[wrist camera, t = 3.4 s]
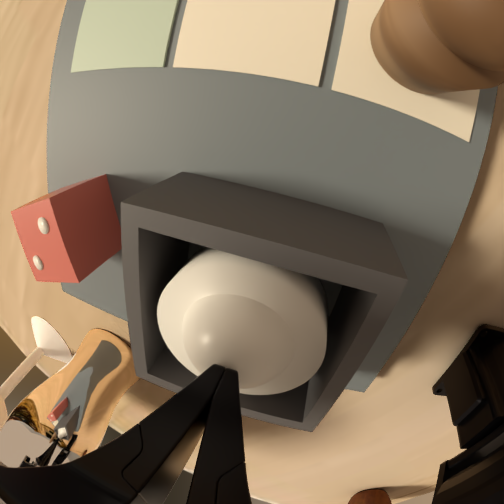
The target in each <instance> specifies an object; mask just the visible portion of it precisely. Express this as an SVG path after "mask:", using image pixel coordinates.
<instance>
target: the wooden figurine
mask: <svg viewBox="0 0 504 504" xmlns="http://www.w3.org/2000/svg"><path fill="white" fill-rule="evenodd" d="M348 504H391V500H390V498H389V496H388V494H387V492H385V491H383V490H380V489H371V490H365V491H361V492H359V493H357V494H355V495H354V496H353V497H352V498H351V499H350V501H349V503H348Z"/></svg>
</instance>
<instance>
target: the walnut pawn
mask: <svg viewBox="0 0 504 504" xmlns="http://www.w3.org/2000/svg"><path fill="white" fill-rule="evenodd" d="M370 41H371V46H372V49H373V52H374V55H375V57H376V59H377V61H378V62H379V64H380V65H381V67H382V68H383V69H384V71H385V72H386V73H387V74H388V75H389V76H390V77H391V78H392V79H393V80H394V81H396V82H397V83H398V84H400V85H402V86H403V87H405V88H407V89H409V90H411V91H414V92H417V93H421V94H429V95H431V94H441V93H448V92H457V91H466V90H477V89H487V88H493V87H496V86H498V85H500V84H501V83H503V82H504V0H384V2H383V4H382V6H381V7H380V9H379V11H378V13H377V15H376V17H375V18H374V21H373V23H372V26H371V31H370Z"/></svg>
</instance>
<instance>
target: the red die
mask: <svg viewBox="0 0 504 504" xmlns="http://www.w3.org/2000/svg"><path fill="white" fill-rule="evenodd" d="M11 214H12V217H13V220H14V223H15V226H16V229H17V232H18V235H19V238H20V241H21V244H22V246H23V249H24V252H25V254H26V257H27V259H28V262H29V264H30V267H31V269H32V272H33V274H34V276H35V279H36V281H42V282H64V283H80V282H81V281H82V280H83V279H85V278H86V277H87V276H88V275H89V274H91V273H92V272H93V271H94V270H96V269H97V268H98V267H99V266H101V265H102V264H103V263H104V262H106V261H107V260H108V259H109V258H111V257H112V256H113V255H114V254H116V253H117V252H118V251H120V250H121V249H122V245H121V227H120V223H119V220H118V217H117V213H116V210H115V206H114V203H113V199H112V195H111V191H110V188H109V184H108V180H107V176H106V174H104V175H101V176H97V177H94V178H91V179H87V180H84V181H81V182H78V183H75V184H72V185H69V186H66V187H63V188H60V189H58V190H55V191H53V192H51V193H49V194H47V195H44V196H42V197H40V198H38V199H36V200H34V201H31V202H29V203H27V204H25V205H23V206H21V207H19V208H17V209H15V210H13V211H11Z"/></svg>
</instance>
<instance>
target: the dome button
mask: <svg viewBox="0 0 504 504" xmlns="http://www.w3.org/2000/svg"><path fill="white" fill-rule="evenodd" d="M157 320H158V325H159V329H160V332H161V335H162V337H163V339H164V341H165V343H166V345H167V347H168V348H169V349H170V351H171V352H172V354H173V355H174V356H175V357H176V358H177V359H178V361H179V362H181V363H182V364H183V365H184V366H185V367H186V368H187V369H188V370H190V371H191V372H192V373H194V374H195V375H197V376H199V375H200V374H202V373H203V372H204V371H205V370H206V369H208V368H209V367H210V366H211V365H213V364H218V365H221V366H224V367H225V368H230V369H233V370H236V371H238V376H239V390H240V393H242V394H250V395H270V394H277V393H282V392H286V391H289V390H292V389H294V388H296V387H298V386H300V385H302V384H304V383H305V382H306V381H308V380H309V379H310V378H311V377H312V376H313V375H314V374H315V373H316V372H317V371H318V369H319V368H320V366H321V364H322V362H323V360H324V357H325V353H326V343H327V323H328V304H327V298H326V295H325V292H324V289H323V287H322V285H321V283H320V281H319V279H318V278H316V277H313V276H309V275H305V274H302V273H298V272H295V271H291V270H287V269H284V268H280V267H277V266H273V265H269V264H266V263H262V262H259V261H255V260H251V259H248V258H244V257H241V256H237V255H234V254H230V253H227V252H223V251H219V250H216V249H212V248H209V247H203V248H202V249H200V250H199V251H198V252H196V253H195V254H194V255H193V256H192V257H191V258H190V259H189V260H188V261H187V262H186V264H185V265H184V266H183V267H182V268H181V269H180V271H179V272H178V273H177V274H176V275H175V276H174V277H173V279H172V280H171V281H170V282H169V283H168V284H167V286H166V287H165V289H164V290H163V292H162V294H161V296H160V298H159V302H158V307H157Z"/></svg>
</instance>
